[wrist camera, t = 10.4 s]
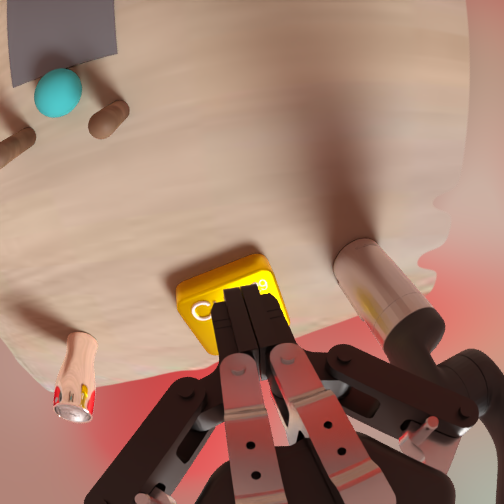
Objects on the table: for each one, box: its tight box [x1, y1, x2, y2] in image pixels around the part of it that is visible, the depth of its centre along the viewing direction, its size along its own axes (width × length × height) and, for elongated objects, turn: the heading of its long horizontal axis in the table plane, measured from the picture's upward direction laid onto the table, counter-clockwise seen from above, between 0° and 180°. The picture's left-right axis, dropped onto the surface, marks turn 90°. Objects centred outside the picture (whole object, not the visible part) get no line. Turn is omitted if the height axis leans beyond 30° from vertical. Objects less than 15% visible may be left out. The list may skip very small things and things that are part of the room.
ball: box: [34, 68, 82, 118], centre depth 25 cm, size 6×6×6 cm
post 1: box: [0, 128, 36, 169], centre depth 26 cm, size 3×3×9 cm
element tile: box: [176, 254, 290, 355], centre depth 49 cm, size 15×15×5 cm
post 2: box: [88, 101, 129, 139], centre depth 27 cm, size 3×3×9 cm
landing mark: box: [7, 0, 117, 88], centre depth 22 cm, size 14×14×1 cm
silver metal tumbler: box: [53, 332, 98, 423], centre depth 43 cm, size 7×7×15 cm
